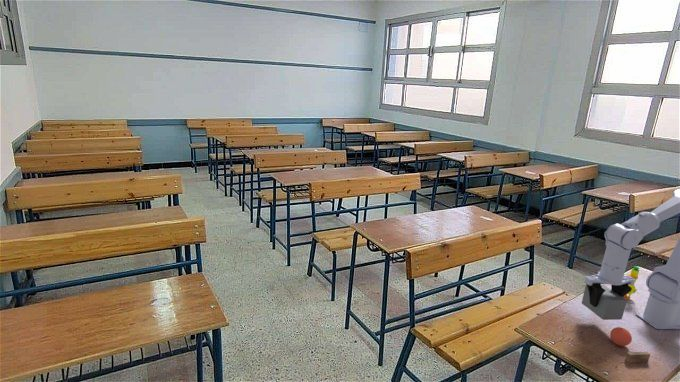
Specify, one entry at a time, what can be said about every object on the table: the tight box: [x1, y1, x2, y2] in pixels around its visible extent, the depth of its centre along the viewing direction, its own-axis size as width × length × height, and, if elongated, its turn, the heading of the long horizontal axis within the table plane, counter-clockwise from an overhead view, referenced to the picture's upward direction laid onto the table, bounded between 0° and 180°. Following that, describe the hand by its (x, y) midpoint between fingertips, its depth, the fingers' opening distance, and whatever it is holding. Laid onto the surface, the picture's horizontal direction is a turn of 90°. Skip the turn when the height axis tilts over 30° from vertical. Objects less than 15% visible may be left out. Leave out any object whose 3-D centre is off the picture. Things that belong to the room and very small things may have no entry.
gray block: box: [581, 284, 628, 321], centre depth 116 cm, size 6×9×6 cm, turn 6°
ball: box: [609, 326, 633, 347], centre depth 109 cm, size 5×5×5 cm
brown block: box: [624, 351, 651, 364], centre depth 103 cm, size 6×1×2 cm, turn 96°
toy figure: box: [623, 265, 640, 300], centre depth 134 cm, size 7×4×12 cm, turn 121°
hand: (603, 304), depth 116 cm, fingers closed on gray block, 6 cm apart
